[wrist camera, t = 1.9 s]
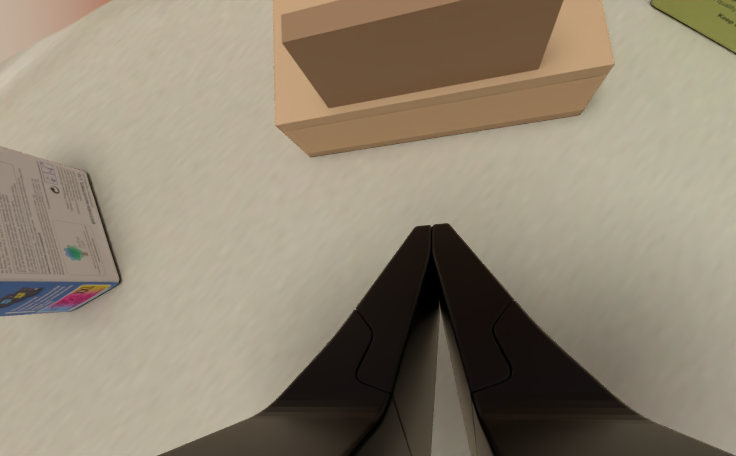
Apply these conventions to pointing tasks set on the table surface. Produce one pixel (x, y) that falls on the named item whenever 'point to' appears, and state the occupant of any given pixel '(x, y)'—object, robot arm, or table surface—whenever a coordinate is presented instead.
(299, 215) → the table surface
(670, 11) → the protein box
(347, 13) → the lid flap
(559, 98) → the carton
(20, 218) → the ink cartridge box
